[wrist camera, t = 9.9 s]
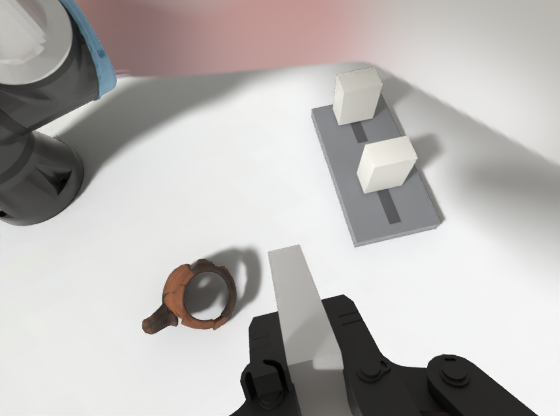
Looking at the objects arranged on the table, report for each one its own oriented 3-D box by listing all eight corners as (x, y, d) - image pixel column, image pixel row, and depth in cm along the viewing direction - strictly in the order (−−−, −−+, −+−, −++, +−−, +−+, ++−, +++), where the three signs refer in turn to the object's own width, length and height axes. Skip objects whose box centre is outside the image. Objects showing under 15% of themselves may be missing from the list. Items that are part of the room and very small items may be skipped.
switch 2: (401, 185, 47) (418, 157, 40) (364, 193, 47) (374, 167, 40) (393, 165, 48) (407, 135, 42) (356, 173, 48) (365, 144, 41)
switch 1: (372, 118, 52) (382, 84, 45) (338, 125, 52) (344, 92, 45) (365, 101, 53) (374, 66, 47) (332, 109, 53) (337, 74, 47)
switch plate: (435, 228, 46) (441, 223, 44) (354, 247, 46) (356, 242, 44) (372, 89, 57) (375, 80, 56) (307, 104, 57) (307, 95, 55)
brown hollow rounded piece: (199, 249, 48) (213, 242, 41) (237, 300, 49) (257, 301, 41) (124, 305, 42) (125, 308, 35) (168, 361, 43) (178, 376, 36)
